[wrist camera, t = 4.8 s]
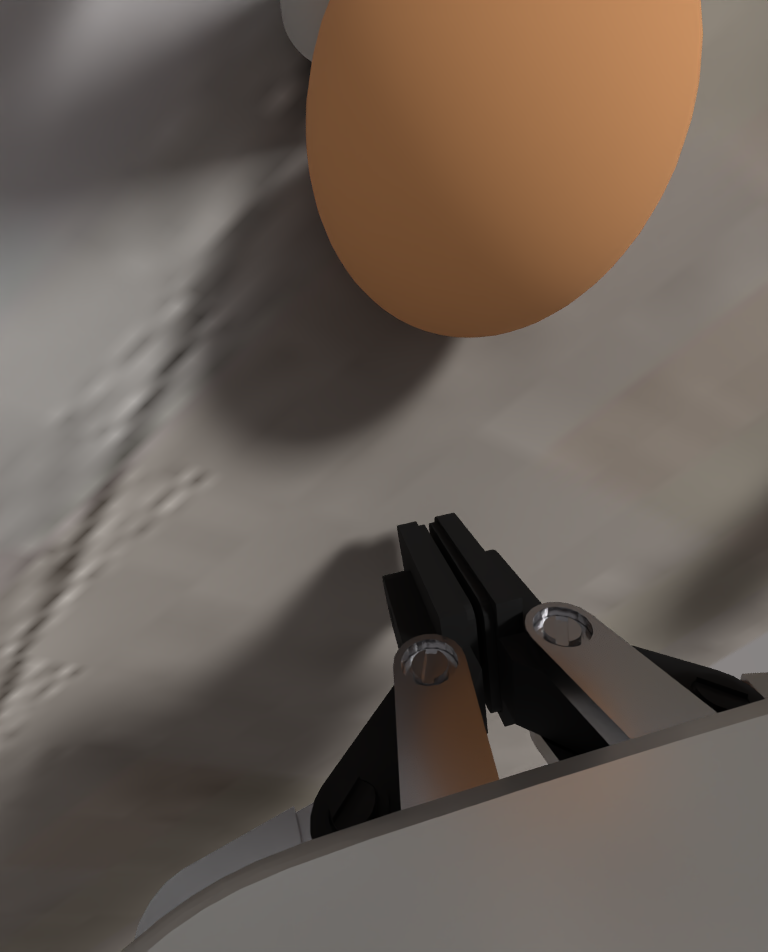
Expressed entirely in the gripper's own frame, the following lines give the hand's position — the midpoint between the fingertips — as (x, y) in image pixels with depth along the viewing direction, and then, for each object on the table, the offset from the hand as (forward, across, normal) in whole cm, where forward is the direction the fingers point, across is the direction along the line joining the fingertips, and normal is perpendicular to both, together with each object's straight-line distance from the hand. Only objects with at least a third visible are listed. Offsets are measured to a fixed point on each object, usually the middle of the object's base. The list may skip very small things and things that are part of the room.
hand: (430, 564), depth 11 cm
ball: (-2, -2, -9) cm, 9 cm away
